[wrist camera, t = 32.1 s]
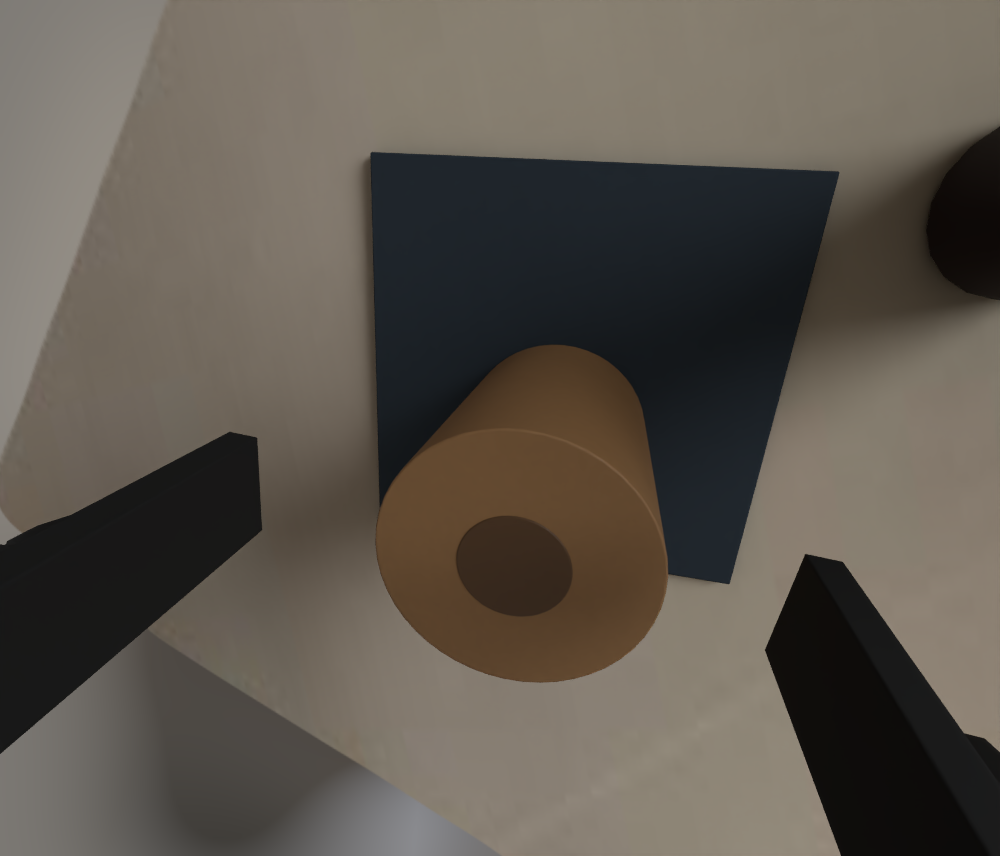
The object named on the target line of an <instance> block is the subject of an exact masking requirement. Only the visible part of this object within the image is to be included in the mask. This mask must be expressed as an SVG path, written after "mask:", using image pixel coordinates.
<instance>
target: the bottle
mask: <svg viewBox="0 0 1000 856" xmlns="http://www.w3.org/2000/svg"><path fill="white" fill-rule="evenodd" d="M926 232H927V238H928V244H929V250H930V256H931V257H932V259H933V260H934V262H935V264H936V265H937V267H938V268H939V270H940V271H941V273H942V275H943V276H944V277H945V278H947V279H948V280H949V281H951V282H952V283H954V284H955V285H957V286H958V287H960V288H961V289H962V290H964V291H965V292H967V293H971V294H975V295H979V296H983V297H987V298H991V299H996V300H1000V127H999V128H997V129H996V130H994V131H993V132H992V133H990V134H989V135H987V136H986V137H984V138H983V139H981V140H980V141H979V142H977V143H976V144H974V145H973V146H972V147H970V148H969V149H968V150H967V152H966V153H965V154H964V155H963V156H962V157H961V158H960V159H959V160H958V162H957V163H956V164H955V165H954V166H953V167H952V168H951V169H950V170H949V172H948V173H947V174H946V176H945V178H944V179H943V181H942V183H941V185H940V187H939V189H938V191H937V193H936V195H935V197H934V199H933V201H932V203H931V208H930V213H929V219H928V224H927V229H926Z"/></svg>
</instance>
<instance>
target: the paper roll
mask: <svg viewBox="0 0 1000 856" xmlns="http://www.w3.org/2000/svg"><path fill="white" fill-rule="evenodd" d="M376 552H377V560H378V564H379V568H380V572H381V576H382V578H383V581H384V583H385V586H386V589H387V591H388V593H389V594H390V596H391V598H392V600H393V602H394V604H395V605H396V607H397V608H398V610H399V611H400V612H401V614H402V615H403V617H404V618H405V619H406V620H407V621H408V623H409V624H410V625H411V626H412V627H413V628H414V629H415V630H416V631H417V632H418V633H419V634H420V635H421V636H422V637H423V638H424V639H425V640H426V641H427V642H429V643H430V644H431V645H433V646H434V647H435V648H437V649H438V650H439V651H441V652H442V653H444V654H446V655H447V656H449V657H450V658H452V659H454V660H455V661H457V662H459V663H461V664H464V665H466V666H468V667H470V668H472V669H475V670H477V671H480V672H483V673H486V674H488V675H492V676H496V677H500V678H504V679H509V680H516V681H522V682H557V681H564V680H570V679H575V678H579V677H582V676H586V675H589V674H592V673H594V672H597V671H599V670H602V669H604V668H606V667H608V666H609V665H611V664H613V663H615V662H616V661H618V660H620V659H621V658H622V657H624V656H625V655H626V654H628V653H629V652H630V651H631V650H633V649H634V648H635V647H636V645H637V644H638V643H639V642H640V641H641V640H642V639H643V638H644V637H645V636H646V634H647V633H648V631H649V630H650V628H651V627H652V625H653V624H654V622H655V620H656V618H657V616H658V614H659V612H660V610H661V607H662V604H663V601H664V597H665V594H666V588H667V580H668V559H667V552H666V546H665V540H664V534H663V528H662V522H661V516H660V510H659V504H658V498H657V492H656V486H655V481H654V475H653V469H652V463H651V457H650V451H649V445H648V439H647V433H646V427H645V421H644V416H643V411H642V407H641V404H640V402H639V399H638V397H637V395H636V393H635V391H634V389H633V387H632V386H631V384H630V383H629V382H628V380H627V379H626V378H625V377H624V376H623V374H622V373H621V372H620V371H619V370H618V369H617V368H615V367H614V366H613V365H612V364H611V363H609V362H608V361H606V360H605V359H603V358H601V357H600V356H598V355H596V354H594V353H591V352H589V351H587V350H584V349H580V348H577V347H572V346H566V345H542V346H536V347H532V348H528V349H525V350H522V351H520V352H517V353H515V354H513V355H511V356H509V357H508V358H506V359H505V360H503V361H502V362H501V363H499V364H498V365H497V366H496V367H495V368H494V369H493V370H492V371H491V372H489V374H488V375H487V376H486V377H485V378H484V379H483V380H482V381H481V382H480V384H479V385H478V386H477V387H476V388H475V389H474V390H473V391H472V392H471V393H470V395H469V396H468V397H467V398H466V399H465V400H464V401H463V402H462V403H461V405H460V406H459V407H458V408H457V409H456V410H455V411H454V412H453V413H452V414H451V416H450V417H449V418H448V419H447V420H446V421H445V422H444V423H443V424H442V425H441V427H440V428H439V429H438V430H437V431H436V432H435V433H434V434H433V435H432V437H431V438H430V439H429V440H428V441H427V442H426V443H425V444H424V445H423V446H422V448H421V449H420V450H419V451H418V452H417V453H416V454H415V455H414V456H413V458H412V459H411V460H410V461H409V462H408V463H407V464H406V465H405V466H404V467H403V469H402V470H401V471H400V472H399V474H398V475H397V476H396V478H395V479H394V480H393V482H392V483H391V485H390V487H389V489H388V491H387V492H386V494H385V496H384V499H383V502H382V505H381V507H380V510H379V515H378V520H377V525H376Z"/></svg>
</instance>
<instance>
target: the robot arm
mask: <svg viewBox="0 0 1000 856" xmlns="http://www.w3.org/2000/svg"><path fill="white" fill-rule="evenodd" d="M260 531H262V521H261V502H260V483H259V464H258V446H257V438H256V437H251V436H247V435H242V434H237V433H233V432H228V433H227V434H225V435H223V436H221V437H219V438H217V439H215V440H213V441H211V442H209V443H207V444H206V445H204V446H202V447H200V448H198V449H196V450H194V451H192V452H190V453H188V454H186V455H185V456H183V457H181V458H179V459H177V460H175V461H173V462H171V463H169V464H167V465H166V466H164V467H162V468H160V469H158V470H156V471H154V472H152V473H150V474H148V475H146V476H145V477H143V478H141V479H139V480H137V481H135V482H133V483H131V484H129V485H127V486H125V487H124V488H122V489H120V490H118V491H116V492H114V493H112V494H110V495H108V496H106V497H104V498H103V499H101V500H99V501H97V502H95V503H93V504H91V505H89V506H87V507H85V508H83V509H82V510H80V511H78V512H76V513H74V514H72V515H69V516H66V517H63V518H60V519H57V520H54V521H51V522H47V523H44V524H41V525H38V526H36V527H34V528H32V529H30V530H28V531H26V532H24V533H22V534H20V535H18V536H16V537H14V538H13V539H11V540H9V541H7V543H6V544H5V545H0V754H1V753H2V752H3V751H4V750H5V749H6V748H8V747H9V746H10V745H11V744H12V743H13V742H15V741H16V740H17V739H18V738H19V737H20V736H22V735H23V734H24V733H25V732H26V731H28V730H29V729H30V728H31V727H32V726H33V725H35V724H36V723H37V722H38V721H39V720H40V719H42V718H43V717H44V716H45V715H46V714H47V713H49V712H50V711H51V710H52V709H53V708H54V707H56V706H57V705H58V704H59V703H60V702H61V701H63V700H64V699H65V698H66V697H67V696H68V695H70V694H71V693H72V692H73V691H74V690H76V689H77V688H78V687H79V686H80V685H81V684H83V683H84V682H85V681H86V680H87V679H88V678H90V677H91V676H92V675H93V674H94V673H95V672H97V671H98V670H99V669H100V668H101V667H102V666H104V665H105V664H106V663H107V662H108V661H109V660H111V659H112V658H113V657H114V656H115V655H116V654H118V653H119V652H120V651H121V650H122V649H123V648H125V647H126V646H127V645H128V644H129V643H131V642H132V641H133V640H134V639H135V638H136V637H138V636H139V635H140V634H141V633H142V632H143V631H144V630H146V629H147V628H148V627H149V626H150V625H152V624H153V623H154V622H155V621H156V620H157V619H159V618H160V617H161V616H162V615H163V614H164V613H166V612H167V611H168V610H169V609H170V608H171V607H173V606H174V605H175V604H176V603H177V602H178V601H180V600H181V599H182V598H183V597H184V596H186V595H187V594H188V593H189V592H190V591H191V590H193V589H194V588H195V587H196V586H197V585H198V584H200V583H201V582H202V581H203V580H204V579H205V578H207V577H208V576H209V575H210V574H211V573H212V572H214V571H215V570H216V569H217V568H218V567H219V566H221V565H222V564H223V563H224V562H225V561H226V560H228V559H229V558H230V557H231V556H232V555H233V554H235V553H236V552H237V551H238V550H239V549H240V548H242V547H243V546H244V545H245V544H246V543H248V542H249V541H250V540H251V539H252V538H253V537H255V536H256V535H257V534H258V533H259V532H260ZM765 652H766V654H767V657H768V660H769V662H770V665H771V668H772V670H773V673H774V676H775V679H776V681H777V684H778V687H779V689H780V692H781V695H782V697H783V700H784V703H785V706H786V708H787V711H788V714H789V716H790V719H791V722H792V724H793V727H794V730H795V732H796V735H797V738H798V741H799V743H800V746H801V749H802V751H803V754H804V757H805V759H806V762H807V765H808V768H809V770H810V773H811V776H812V778H813V781H814V784H815V786H816V789H817V792H818V795H819V797H820V800H821V803H822V805H823V808H824V811H825V813H826V816H827V819H828V822H829V824H830V827H831V830H832V832H833V835H834V838H835V840H836V843H837V846H838V849H839V851H840V854H841V856H1000V752H999V751H998V750H997V749H996V748H994V747H993V746H992V745H991V744H990V743H989V742H988V741H987V740H986V739H985V738H981V737H977V736H973V735H968V734H964V733H963V731H962V730H961V729H960V727H959V726H958V724H957V723H956V722H955V720H954V719H953V717H952V716H951V714H950V713H949V712H948V710H947V709H946V707H945V706H944V705H943V703H942V702H941V700H940V699H939V697H938V696H937V695H936V693H935V692H934V690H933V689H932V688H931V686H930V685H929V683H928V682H927V680H926V679H925V678H924V676H923V675H922V673H921V672H920V671H919V669H918V668H917V666H916V665H915V663H914V662H913V661H912V659H911V658H910V656H909V655H908V654H907V652H906V651H905V649H904V648H903V646H902V645H901V644H900V642H899V641H898V639H897V638H896V637H895V635H894V634H893V632H892V631H891V629H890V628H889V627H888V625H887V624H886V622H885V621H884V620H883V618H882V617H881V615H880V614H879V612H878V611H877V610H876V608H875V607H874V605H873V604H872V603H871V601H870V600H869V598H868V597H867V595H866V594H865V593H864V591H863V590H862V588H861V587H860V586H859V584H858V583H857V581H856V580H855V578H854V577H853V576H852V574H851V573H850V571H849V570H848V569H847V567H846V566H845V564H844V563H843V562H841V561H836V560H831V559H826V558H822V557H817V556H812V555H808V554H805V556H804V559H803V561H802V563H801V566H800V568H799V571H798V573H797V575H796V578H795V580H794V582H793V585H792V587H791V589H790V592H789V594H788V597H787V599H786V601H785V604H784V606H783V608H782V611H781V613H780V616H779V618H778V620H777V623H776V625H775V627H774V630H773V632H772V635H771V637H770V639H769V642H768V644H767V646H766V649H765Z"/></svg>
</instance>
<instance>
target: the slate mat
mask: <svg viewBox="0 0 1000 856" xmlns="http://www.w3.org/2000/svg"><path fill="white" fill-rule="evenodd" d="M838 176H839V172H836V171H811V170H787V169H763V168H739V167H715V166H691V165H667V164H643V163H619V162H595V161H571V160H547V159H523V158H499V157H475V156H451V155H427V154H403V153H378V152H371V190H372V228H373V265H374V303H375V341H376V379H377V417H378V455H379V493H380V507H381V505H382V502H383V499H384V496H385V494H386V492H387V491H388V489H389V487H390V485H391V483H392V482H393V480H394V479H395V478H396V476H397V475H398V474H399V472H400V471H401V470H402V469H403V467H404V466H405V465H406V464H407V463H408V462H409V461H410V460H411V459H412V458H413V456H414V455H415V454H416V453H417V452H418V451H419V450H420V449H421V448H422V446H423V445H424V444H425V443H426V442H427V441H428V440H429V439H430V438H431V437H432V435H433V434H434V433H435V432H436V431H437V430H438V429H439V428H440V427H441V425H442V424H443V423H444V422H445V421H446V420H447V419H448V418H449V417H450V416H451V414H452V413H453V412H454V411H455V410H456V409H457V408H458V407H459V406H460V405H461V403H462V402H463V401H464V400H465V399H466V398H467V397H468V396H469V395H470V393H471V392H472V391H473V390H474V389H475V388H476V387H477V386H478V385H479V384H480V382H481V381H482V380H483V379H484V378H485V377H486V376H487V375H488V374H489V372H491V371H492V370H493V369H494V368H495V367H496V366H497V365H498V364H499V363H501V362H502V361H503V360H505V359H506V358H508V357H509V356H511V355H513V354H515V353H517V352H520V351H522V350H525V349H528V348H532V347H536V346H542V345H566V346H572V347H577V348H580V349H584V350H587V351H589V352H591V353H594V354H596V355H598V356H600V357H601V358H603V359H605V360H606V361H608V362H609V363H611V364H612V365H613V366H614V367H615V368H617V369H618V370H619V371H620V372H621V373H622V374H623V376H624V377H625V378H626V379H627V380H628V382H629V383H630V384H631V386H632V387H633V389H634V391H635V393H636V395H637V397H638V399H639V402H640V404H641V407H642V411H643V416H644V421H645V427H646V433H647V439H648V445H649V451H650V457H651V463H652V469H653V475H654V481H655V486H656V492H657V498H658V504H659V510H660V516H661V522H662V528H663V534H664V540H665V546H666V552H667V559H668V574H672V575H678V576H684V577H690V578H695V579H701V580H707V581H713V582H719V583H725V584H730V580H731V576H732V573H733V569H734V565H735V561H736V558H737V554H738V550H739V546H740V543H741V539H742V535H743V532H744V528H745V524H746V520H747V517H748V513H749V509H750V505H751V502H752V498H753V494H754V490H755V487H756V483H757V479H758V475H759V472H760V468H761V464H762V460H763V457H764V453H765V449H766V446H767V442H768V438H769V434H770V431H771V427H772V423H773V419H774V416H775V412H776V408H777V404H778V401H779V397H780V393H781V389H782V386H783V382H784V378H785V374H786V371H787V367H788V363H789V360H790V356H791V352H792V348H793V345H794V341H795V337H796V333H797V330H798V326H799V322H800V318H801V315H802V311H803V307H804V303H805V300H806V296H807V292H808V288H809V285H810V281H811V277H812V274H813V270H814V266H815V262H816V259H817V255H818V251H819V247H820V244H821V240H822V236H823V232H824V229H825V225H826V221H827V217H828V214H829V210H830V206H831V202H832V199H833V195H834V191H835V188H836V184H837V180H838Z"/></svg>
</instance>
